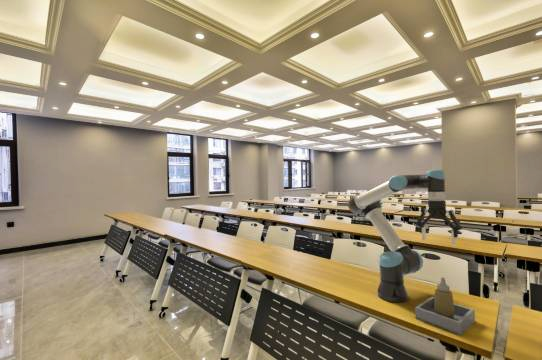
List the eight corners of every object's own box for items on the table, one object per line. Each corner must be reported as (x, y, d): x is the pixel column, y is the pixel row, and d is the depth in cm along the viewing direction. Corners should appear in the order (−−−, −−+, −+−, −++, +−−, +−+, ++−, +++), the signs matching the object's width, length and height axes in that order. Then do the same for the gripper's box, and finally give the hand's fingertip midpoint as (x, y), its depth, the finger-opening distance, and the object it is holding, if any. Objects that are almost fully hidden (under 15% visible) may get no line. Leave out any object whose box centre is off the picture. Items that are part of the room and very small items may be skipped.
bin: (415, 318, 117) (415, 307, 117) (432, 306, 128) (431, 296, 128) (460, 335, 103) (460, 323, 103) (474, 321, 114) (474, 309, 114)
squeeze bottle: (436, 321, 113) (434, 280, 114) (432, 312, 121) (430, 274, 121) (458, 323, 110) (456, 282, 111) (452, 314, 118) (450, 275, 118)
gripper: (408, 199, 139) (409, 238, 138) (463, 201, 119) (465, 247, 118) (414, 198, 143) (416, 236, 143) (468, 200, 123) (470, 244, 123)
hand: (438, 241), depth 130 cm, fingers open, 13 cm apart
